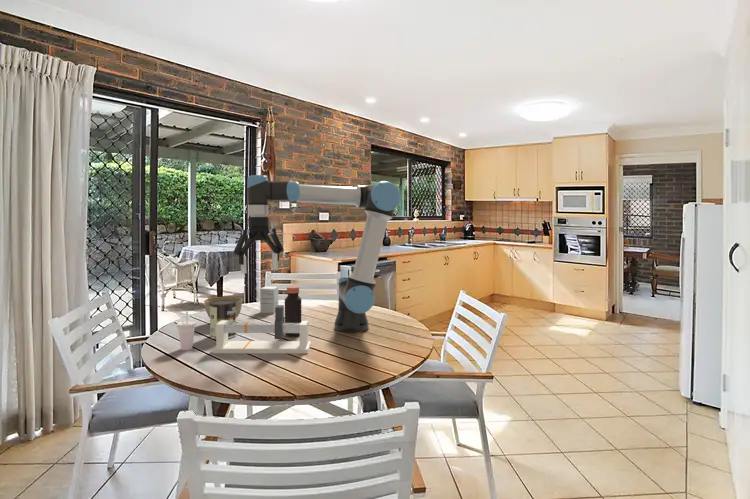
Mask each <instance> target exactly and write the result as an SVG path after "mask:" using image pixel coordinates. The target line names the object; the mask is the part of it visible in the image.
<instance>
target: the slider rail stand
mask: <svg viewBox="0 0 750 499" xmlns="http://www.w3.org/2000/svg"><path fill="white" fill-rule="evenodd" d="M226 323H228V320H221V321H220V322H219V323H217V324H216V339H215V340H216V341H215V342H216V345H215V346H214V347H213V348H211V349H212V351H211V352H212V354H307V353H308V354H309V352H310V349H311V346H312V341H311V340H309V320H301V323H300V336H299V340H288V341H287V340H270V341H269V340H229V339H228V333H224V324H226Z"/></svg>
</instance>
